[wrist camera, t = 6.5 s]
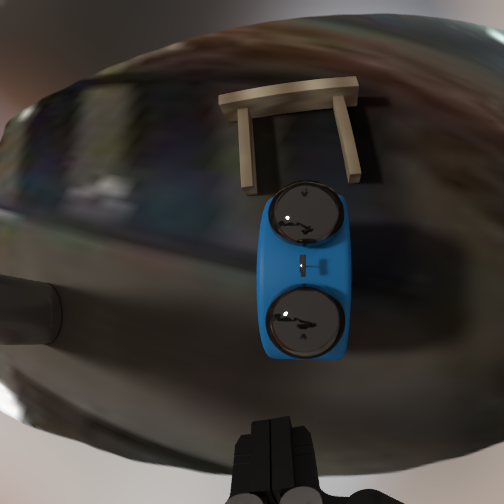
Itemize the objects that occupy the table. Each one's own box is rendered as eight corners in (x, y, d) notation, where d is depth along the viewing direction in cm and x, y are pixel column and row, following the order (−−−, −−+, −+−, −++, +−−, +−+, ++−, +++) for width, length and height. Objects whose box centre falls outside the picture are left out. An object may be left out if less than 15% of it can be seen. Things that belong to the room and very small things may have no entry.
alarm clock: (283, 222, 34) (252, 157, 19) (341, 221, 32) (352, 153, 18) (280, 348, 31) (244, 376, 17) (341, 349, 30) (355, 380, 16)
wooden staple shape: (231, 197, 36) (220, 184, 32) (228, 113, 38) (218, 95, 34) (375, 181, 32) (380, 165, 29) (354, 96, 35) (355, 76, 31)
